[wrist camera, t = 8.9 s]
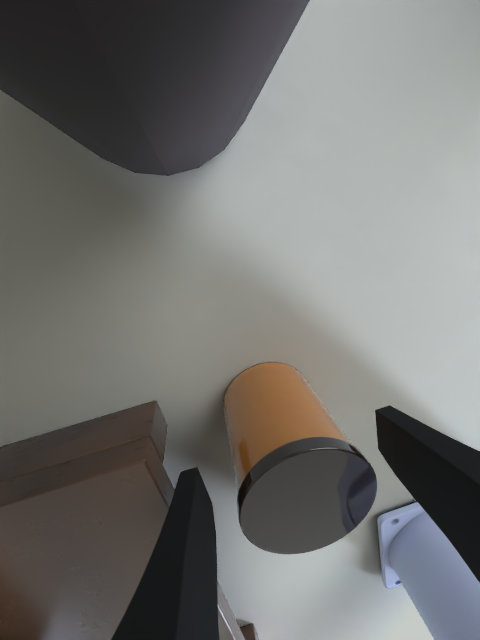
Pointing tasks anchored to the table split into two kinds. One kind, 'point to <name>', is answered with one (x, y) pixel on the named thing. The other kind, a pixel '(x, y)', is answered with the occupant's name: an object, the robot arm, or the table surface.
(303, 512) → the ochre jar
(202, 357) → the table surface
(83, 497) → the spice shelf
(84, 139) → the vinegar
